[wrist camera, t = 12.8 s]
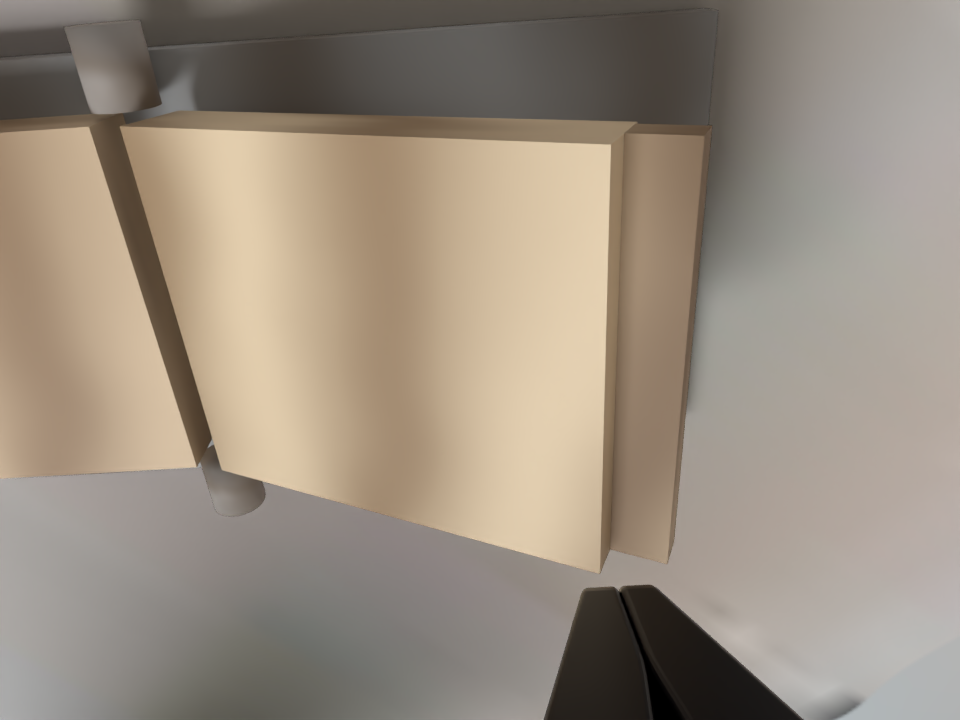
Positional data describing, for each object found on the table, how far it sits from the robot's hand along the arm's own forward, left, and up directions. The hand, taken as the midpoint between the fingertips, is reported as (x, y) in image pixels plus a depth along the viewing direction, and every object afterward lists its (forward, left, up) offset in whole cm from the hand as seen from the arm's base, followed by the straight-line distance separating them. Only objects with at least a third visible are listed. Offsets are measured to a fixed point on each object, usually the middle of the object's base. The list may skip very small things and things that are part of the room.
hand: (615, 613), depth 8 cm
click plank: (-3, 0, -8) cm, 9 cm away
